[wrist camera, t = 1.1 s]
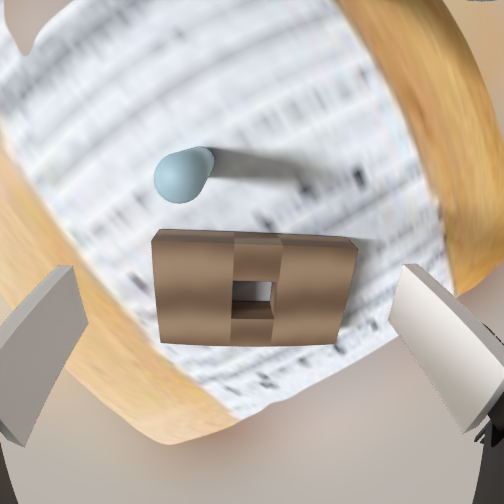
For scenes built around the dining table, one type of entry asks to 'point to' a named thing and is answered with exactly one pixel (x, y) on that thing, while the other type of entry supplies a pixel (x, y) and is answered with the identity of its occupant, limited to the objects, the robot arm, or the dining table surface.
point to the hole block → (250, 269)
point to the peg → (183, 174)
